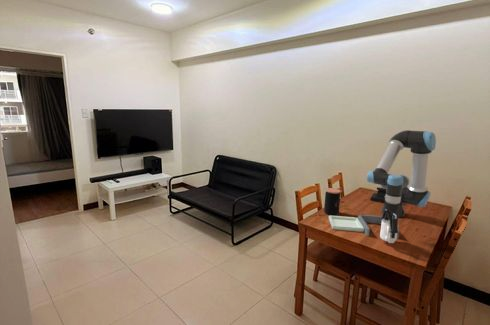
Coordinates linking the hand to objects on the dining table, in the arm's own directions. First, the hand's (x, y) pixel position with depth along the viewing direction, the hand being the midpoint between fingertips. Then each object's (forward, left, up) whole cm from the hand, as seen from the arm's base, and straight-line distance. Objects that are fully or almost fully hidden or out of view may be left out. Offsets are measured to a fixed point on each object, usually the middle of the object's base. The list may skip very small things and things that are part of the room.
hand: (387, 237), depth 153 cm
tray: (+19, -21, -4) cm, 29 cm away
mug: (0, 0, -1) cm, 1 cm away
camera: (-24, -79, -4) cm, 83 cm away
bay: (0, -18, -4) cm, 19 cm away
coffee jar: (+25, -41, -4) cm, 49 cm away
